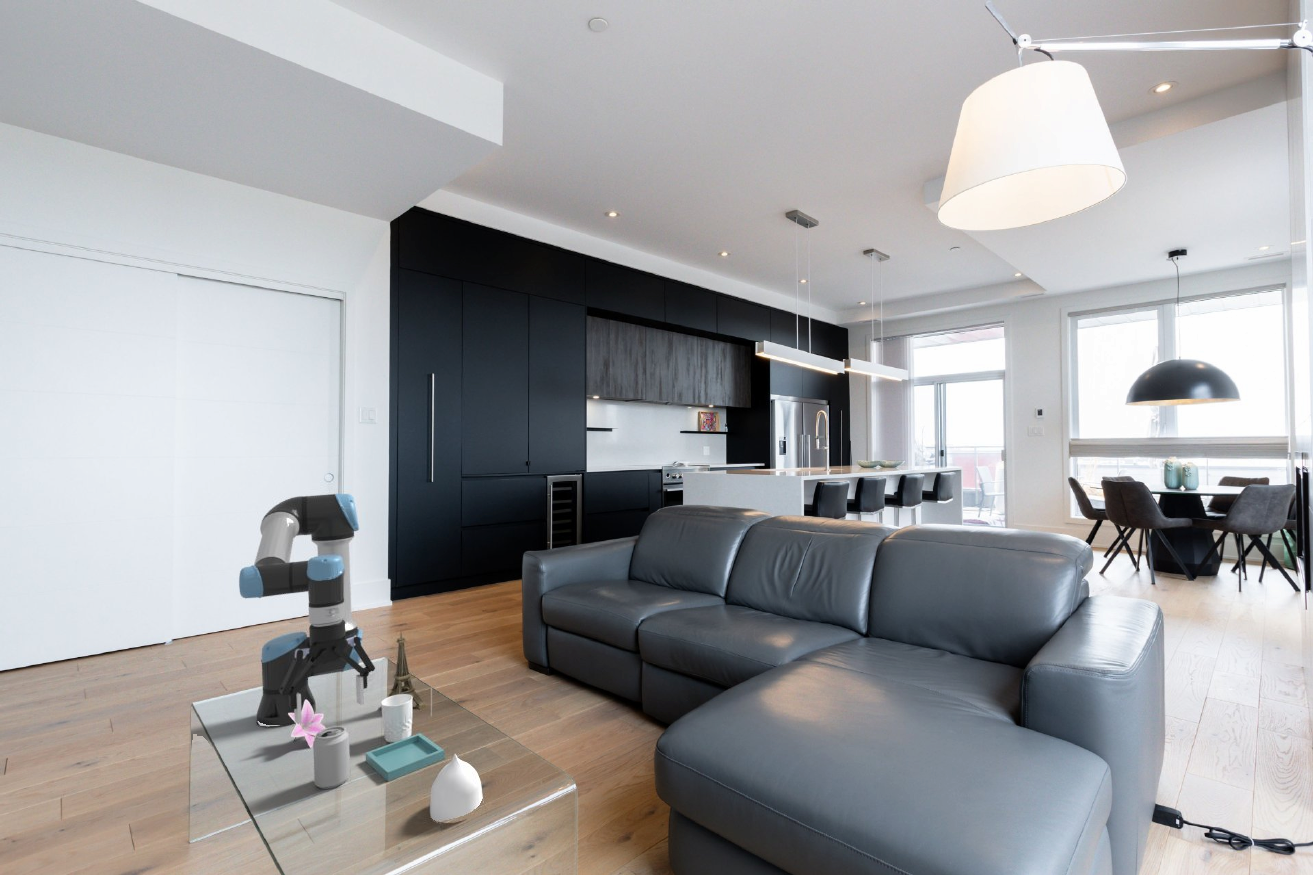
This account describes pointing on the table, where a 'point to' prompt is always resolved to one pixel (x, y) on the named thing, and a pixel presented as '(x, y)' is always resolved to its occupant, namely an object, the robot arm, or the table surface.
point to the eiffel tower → (404, 677)
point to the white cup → (397, 717)
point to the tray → (404, 756)
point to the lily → (307, 724)
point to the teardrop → (455, 791)
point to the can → (331, 757)
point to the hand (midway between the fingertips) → (330, 712)
